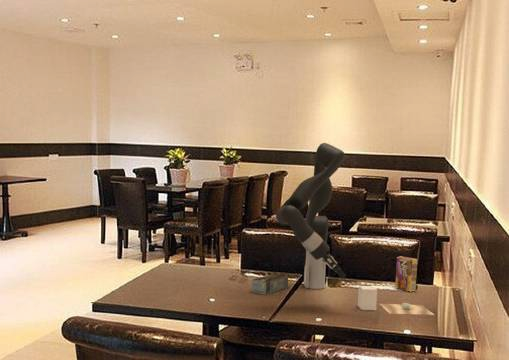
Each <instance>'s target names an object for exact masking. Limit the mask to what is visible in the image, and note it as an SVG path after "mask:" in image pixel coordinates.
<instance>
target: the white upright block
mask: <svg viewBox="0 0 509 360" xmlns="http://www.w3.org/2000/svg"><path fill="white" fill-rule="evenodd" d="M357 296H358V297H357V307H358V308H359V309H360V310H361V311H377V305H378V303H377V301H378V289H377V288H376V287H375V286H373V285H371V286H369V285H358V295H357Z"/></svg>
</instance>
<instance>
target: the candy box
mask: <svg viewBox="0 0 509 360" xmlns="http://www.w3.org/2000/svg"><path fill="white" fill-rule="evenodd" d="M395 266H396V269H395V271H396V272H395V287H396V288H399V289H403V290H406V291H405V292H408V291H410V292H409V293H413V292H412V291H415V292H416V290H417V289H416V288H417V287H416V285H417V274H418V273H417V272H418V271H417V270H418V259H417V258H413V257H407V256H402V255H400V256H397V257H396V265H395ZM395 287H394V288H395ZM399 289H398V290H399ZM403 290H402V291H403Z"/></svg>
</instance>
